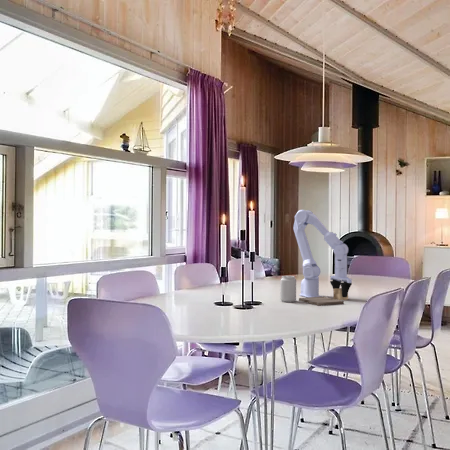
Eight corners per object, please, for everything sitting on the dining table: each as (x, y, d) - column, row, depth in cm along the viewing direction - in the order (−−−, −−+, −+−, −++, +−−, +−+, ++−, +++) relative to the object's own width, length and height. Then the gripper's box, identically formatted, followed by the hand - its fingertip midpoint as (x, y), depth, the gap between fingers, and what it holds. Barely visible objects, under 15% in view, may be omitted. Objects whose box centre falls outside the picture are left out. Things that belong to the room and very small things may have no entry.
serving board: (298, 300, 238) (299, 298, 238) (323, 298, 244) (323, 296, 244) (318, 305, 223) (318, 303, 223) (343, 303, 229) (343, 301, 229)
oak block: (333, 298, 245) (333, 288, 245) (341, 298, 247) (341, 288, 247) (339, 300, 241) (339, 289, 241) (347, 299, 243) (348, 289, 243)
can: (283, 302, 231) (284, 277, 231) (277, 300, 238) (278, 275, 238) (298, 302, 233) (298, 276, 233) (292, 299, 240) (292, 275, 240)
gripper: (356, 269, 239) (356, 297, 239) (338, 267, 252) (338, 293, 252) (344, 270, 236) (344, 298, 236) (327, 267, 250) (326, 294, 250)
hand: (340, 296), depth 244 cm, fingers open, 6 cm apart
